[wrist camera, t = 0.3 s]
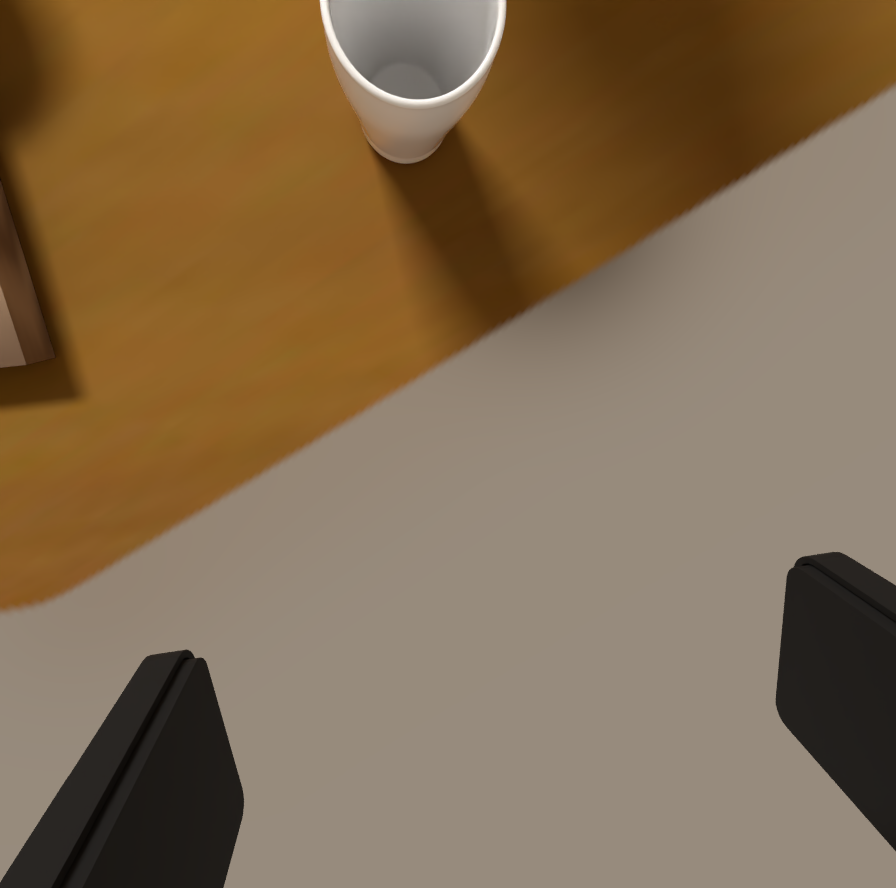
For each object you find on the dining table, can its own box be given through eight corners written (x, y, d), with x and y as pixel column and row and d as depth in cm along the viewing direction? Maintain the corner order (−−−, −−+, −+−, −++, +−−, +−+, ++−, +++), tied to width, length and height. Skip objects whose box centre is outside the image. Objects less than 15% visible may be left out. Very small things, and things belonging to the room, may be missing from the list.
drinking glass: (413, 202, 35) (429, 152, 21) (325, 124, 33) (276, 10, 19) (481, 110, 34) (548, -9, 20) (394, 24, 32) (397, -175, 18)
